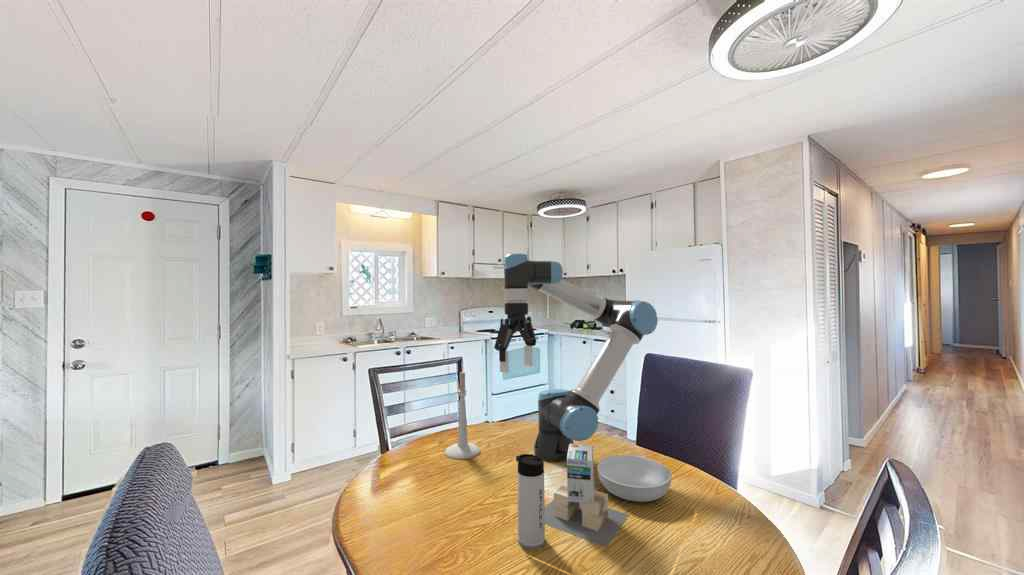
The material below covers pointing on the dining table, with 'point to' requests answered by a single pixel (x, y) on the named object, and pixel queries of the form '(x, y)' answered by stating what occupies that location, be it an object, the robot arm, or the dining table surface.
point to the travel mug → (531, 501)
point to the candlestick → (462, 431)
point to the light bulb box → (580, 473)
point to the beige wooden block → (564, 504)
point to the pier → (595, 511)
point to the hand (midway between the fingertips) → (516, 368)
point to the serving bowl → (634, 477)
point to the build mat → (577, 529)
